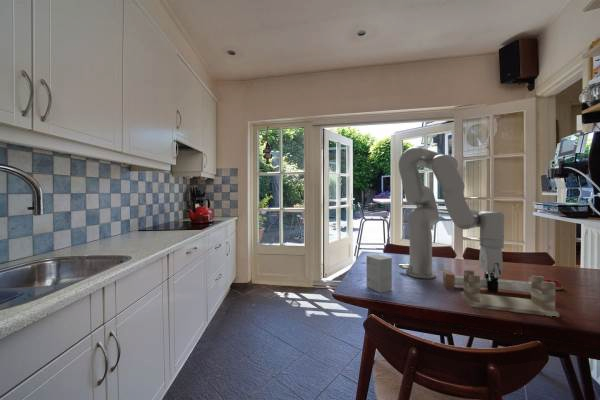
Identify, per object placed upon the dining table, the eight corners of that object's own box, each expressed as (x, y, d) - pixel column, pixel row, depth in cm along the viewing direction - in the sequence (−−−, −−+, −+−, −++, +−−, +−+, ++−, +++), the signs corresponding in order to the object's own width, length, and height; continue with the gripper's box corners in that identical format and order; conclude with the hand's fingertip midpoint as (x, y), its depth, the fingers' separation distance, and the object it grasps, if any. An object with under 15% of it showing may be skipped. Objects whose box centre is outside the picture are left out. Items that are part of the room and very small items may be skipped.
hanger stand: (469, 306, 85) (470, 277, 84) (461, 294, 94) (461, 268, 94) (559, 317, 77) (559, 285, 77) (540, 303, 86) (541, 275, 86)
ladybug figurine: (528, 282, 108) (528, 274, 107) (561, 287, 101) (562, 279, 101) (529, 286, 102) (529, 278, 102) (564, 292, 96) (564, 283, 96)
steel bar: (446, 288, 100) (446, 274, 100) (442, 283, 106) (443, 269, 106) (547, 299, 90) (547, 282, 89) (537, 293, 95) (538, 277, 95)
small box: (392, 290, 99) (392, 258, 99) (380, 293, 96) (380, 259, 96) (377, 283, 106) (377, 253, 106) (365, 286, 103) (365, 255, 103)
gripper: (473, 238, 106) (472, 281, 107) (487, 246, 91) (487, 296, 91) (494, 239, 104) (493, 283, 104) (513, 247, 88) (512, 299, 89)
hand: (490, 289), depth 98 cm, fingers closed on steel bar, 3 cm apart
